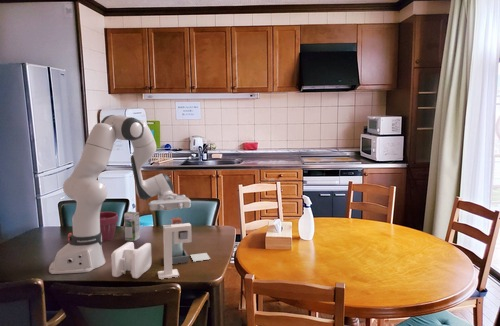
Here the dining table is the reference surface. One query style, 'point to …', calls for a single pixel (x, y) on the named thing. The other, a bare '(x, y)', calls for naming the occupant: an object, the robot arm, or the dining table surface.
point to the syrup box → (132, 226)
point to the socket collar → (181, 258)
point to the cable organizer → (131, 260)
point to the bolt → (180, 233)
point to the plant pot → (108, 224)
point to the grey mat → (200, 257)
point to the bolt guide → (167, 238)
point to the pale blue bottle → (177, 249)
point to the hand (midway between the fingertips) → (172, 208)
